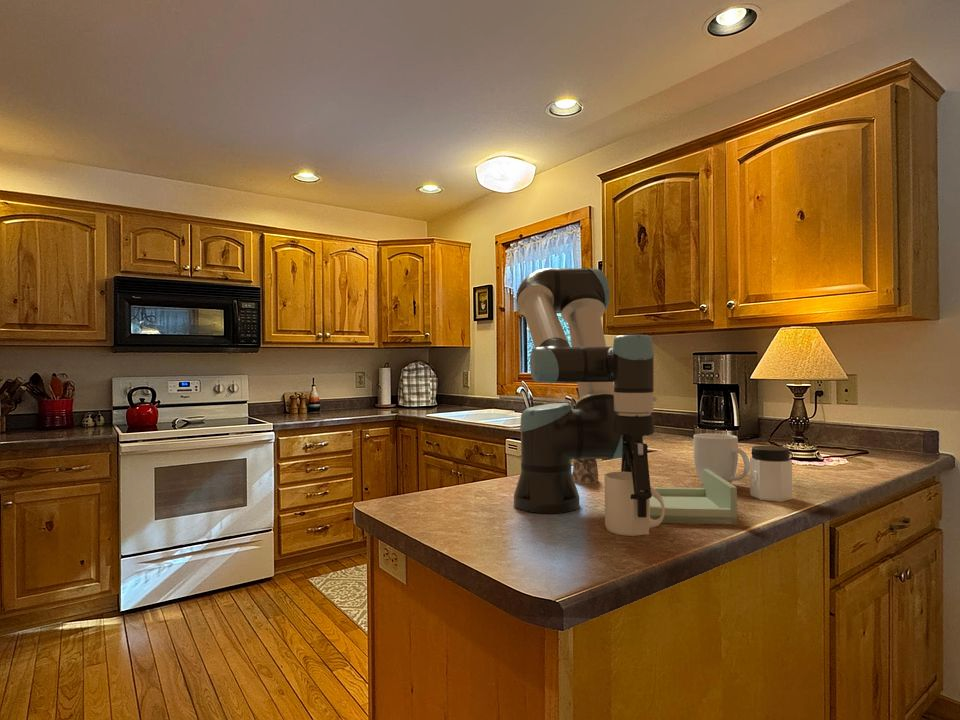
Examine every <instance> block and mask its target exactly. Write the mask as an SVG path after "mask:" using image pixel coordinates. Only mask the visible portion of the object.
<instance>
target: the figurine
mask: <svg viewBox="0 0 960 720" xmlns="http://www.w3.org/2000/svg"><path fill="white" fill-rule="evenodd" d="M572 476H573V479H574V482H575V484H579V485H580V484H581V485H594V484H597V483H598V482H599V471H598V462H597V459H573V465H572Z"/></svg>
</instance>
